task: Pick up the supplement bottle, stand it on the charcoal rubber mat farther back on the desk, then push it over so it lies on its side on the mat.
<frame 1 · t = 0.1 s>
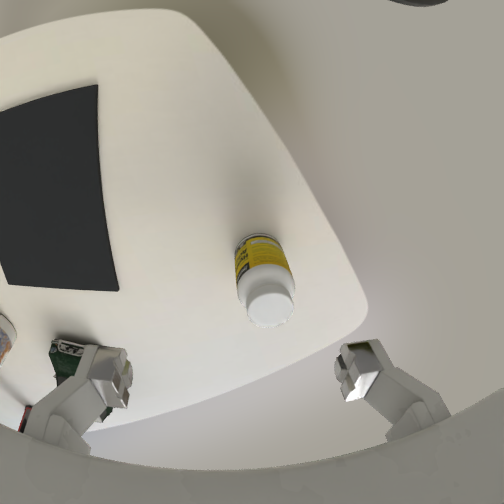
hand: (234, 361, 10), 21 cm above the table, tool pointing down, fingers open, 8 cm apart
bath foam: (4, 325, 34), on the table
speaker: (37, 412, 49), on the table
supplement bottle: (257, 253, 32), on the table
mat: (34, 201, 25), on the table
miniature car: (88, 368, 40), on the table
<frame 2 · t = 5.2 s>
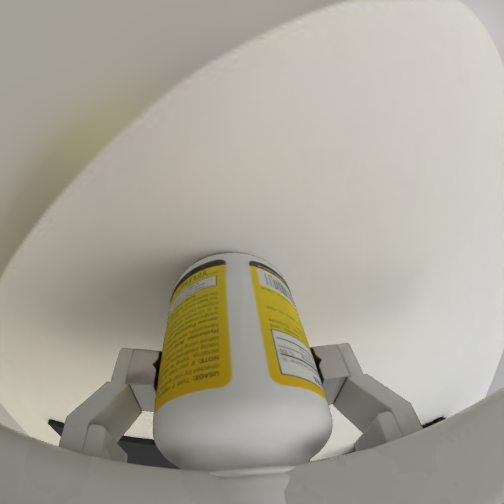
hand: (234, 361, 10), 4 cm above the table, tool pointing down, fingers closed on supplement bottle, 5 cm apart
supplement bottle: (231, 298, 13), on the table, touching gripper
mat: (173, 468, 25), on the table
when the fingers open (4 cm above the table, at t = 12.5 s): supplement bottle stays where it is, resting on mat.
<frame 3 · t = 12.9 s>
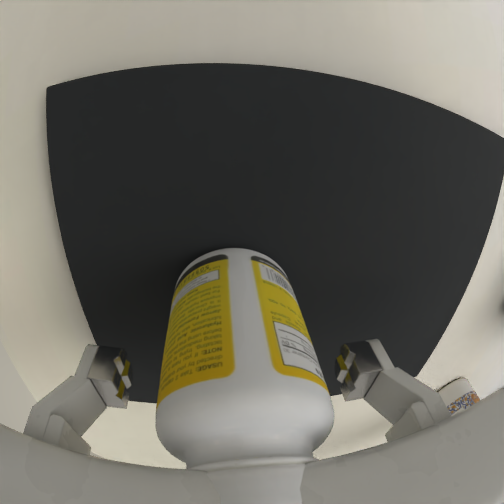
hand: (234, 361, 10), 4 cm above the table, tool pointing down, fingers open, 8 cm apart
bath foam: (443, 393, 25), on the table
supplement bottle: (232, 293, 13), resting on mat
mat: (310, 288, 14), on the table
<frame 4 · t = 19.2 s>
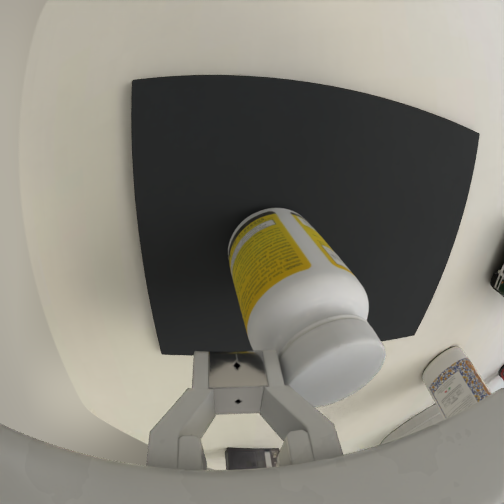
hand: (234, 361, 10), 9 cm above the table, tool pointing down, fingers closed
dish: (424, 422, 43), on the table
bath foam: (440, 362, 30), on the table
supplement bottle: (270, 246, 17), point 1 cm above the table, touching mat
mini dv tape: (252, 449, 35), on the table
mat: (326, 242, 18), on the table
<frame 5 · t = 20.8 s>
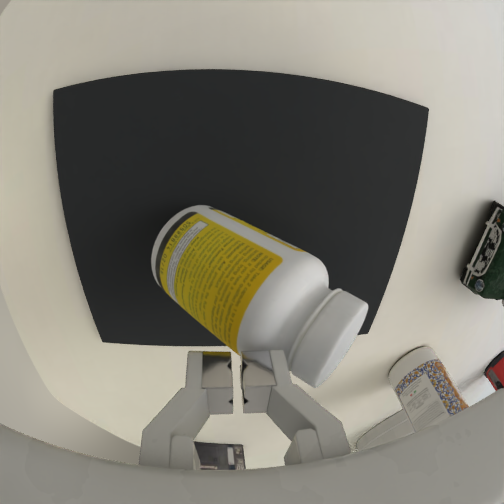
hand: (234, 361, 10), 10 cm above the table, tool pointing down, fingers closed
dish: (403, 423, 44), on the table
bath foam: (409, 362, 30), on the table
speaker: (495, 361, 40), on the table
supplement bottle: (187, 247, 16), point 2 cm above the table, touching gripper, mat
mini dv tape: (215, 444, 35), on the table
mat: (243, 232, 18), on the table
miniature car: (501, 247, 23), on the table
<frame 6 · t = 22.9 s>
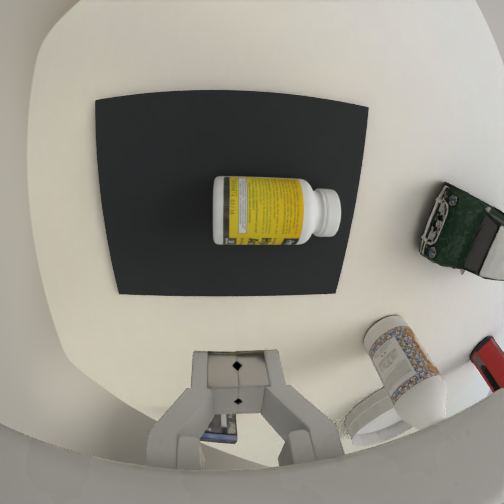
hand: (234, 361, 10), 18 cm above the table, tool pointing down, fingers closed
dish: (390, 404, 49), on the table
bath foam: (383, 331, 36), on the table
speaker: (480, 346, 46), on the table
supplement bottle: (210, 210, 22), point 3 cm above the table, touching mat
mini dv tape: (210, 408, 42), on the table
mat: (228, 202, 25), on the table
miniature car: (462, 226, 29), on the table
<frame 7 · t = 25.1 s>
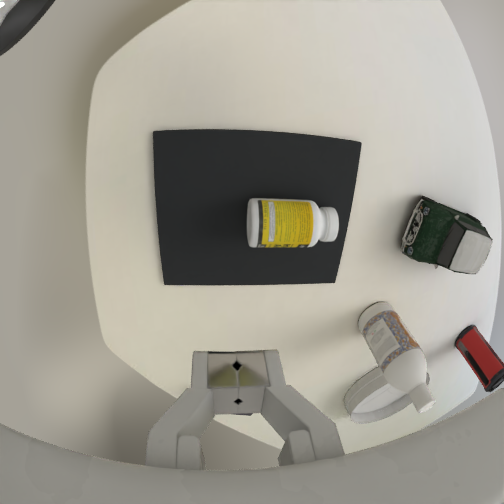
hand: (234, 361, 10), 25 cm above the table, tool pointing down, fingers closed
dish: (384, 385, 59), on the table
bath foam: (374, 315, 45), on the table
speaker: (464, 335, 55), on the table
supplement bottle: (246, 223, 31), point 3 cm above the table, touching mat
mat: (256, 213, 34), on the table
miniature car: (438, 230, 38), on the table
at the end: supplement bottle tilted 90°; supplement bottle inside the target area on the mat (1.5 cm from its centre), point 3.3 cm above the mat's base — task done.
